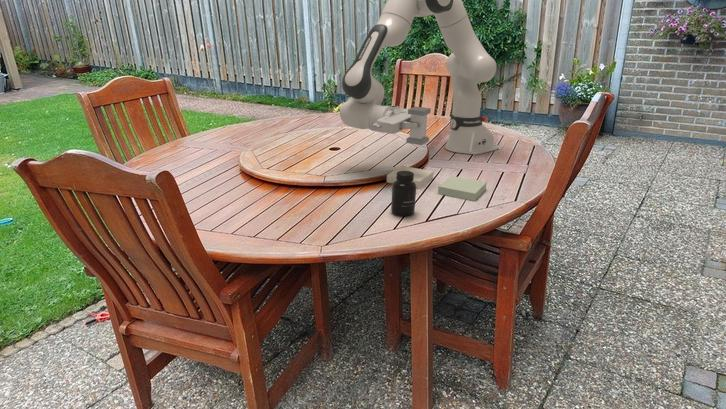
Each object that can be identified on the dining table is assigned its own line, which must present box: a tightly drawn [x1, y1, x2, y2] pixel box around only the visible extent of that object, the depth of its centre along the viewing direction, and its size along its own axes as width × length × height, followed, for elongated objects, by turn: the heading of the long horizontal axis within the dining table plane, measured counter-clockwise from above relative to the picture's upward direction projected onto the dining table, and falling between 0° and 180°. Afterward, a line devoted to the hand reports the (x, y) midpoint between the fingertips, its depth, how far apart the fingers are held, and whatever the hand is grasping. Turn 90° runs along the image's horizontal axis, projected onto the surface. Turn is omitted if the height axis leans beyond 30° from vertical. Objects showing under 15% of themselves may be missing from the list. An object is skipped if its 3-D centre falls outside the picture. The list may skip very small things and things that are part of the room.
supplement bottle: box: [390, 171, 417, 217], centre depth 139 cm, size 7×7×12 cm
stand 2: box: [437, 175, 488, 202], centre depth 157 cm, size 12×12×2 cm
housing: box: [405, 105, 431, 146], centre depth 159 cm, size 6×6×11 cm
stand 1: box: [386, 165, 435, 189], centre depth 167 cm, size 12×12×2 cm
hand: (421, 124), depth 158 cm, fingers closed on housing, 4 cm apart
